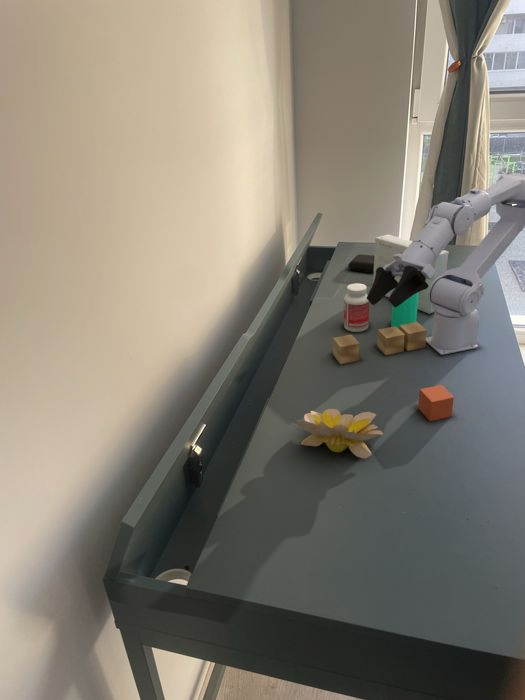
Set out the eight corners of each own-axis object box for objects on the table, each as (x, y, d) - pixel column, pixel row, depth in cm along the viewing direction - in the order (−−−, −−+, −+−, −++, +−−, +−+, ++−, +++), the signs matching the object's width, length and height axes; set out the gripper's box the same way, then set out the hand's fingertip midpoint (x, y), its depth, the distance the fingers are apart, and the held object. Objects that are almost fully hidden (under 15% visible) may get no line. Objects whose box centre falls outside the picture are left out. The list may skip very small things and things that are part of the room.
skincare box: (443, 308, 139) (450, 251, 131) (429, 315, 136) (435, 256, 128) (385, 285, 154) (387, 232, 146) (371, 291, 152) (373, 237, 144)
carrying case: (401, 264, 168) (357, 259, 174) (402, 255, 166) (357, 251, 173) (392, 276, 160) (346, 271, 166) (393, 267, 158) (346, 262, 164)
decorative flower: (395, 422, 96) (390, 384, 90) (380, 473, 89) (374, 436, 83) (317, 411, 103) (308, 375, 96) (298, 457, 96) (287, 421, 89)
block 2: (394, 342, 125) (395, 326, 123) (403, 351, 121) (404, 334, 119) (377, 346, 124) (377, 329, 122) (385, 355, 121) (386, 338, 118)
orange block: (438, 403, 103) (441, 384, 101) (451, 416, 100) (454, 397, 97) (417, 408, 103) (419, 389, 100) (429, 421, 99) (431, 402, 97)
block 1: (351, 351, 123) (351, 334, 121) (359, 360, 119) (359, 343, 117) (333, 354, 122) (333, 337, 120) (340, 364, 119) (340, 346, 116)
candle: (416, 321, 133) (420, 277, 127) (414, 333, 129) (418, 287, 123) (392, 319, 135) (395, 276, 129) (389, 330, 130) (392, 285, 125)
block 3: (415, 338, 126) (417, 321, 124) (425, 347, 122) (426, 330, 120) (398, 342, 125) (399, 325, 123) (407, 350, 122) (408, 333, 119)
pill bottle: (373, 327, 132) (375, 287, 127) (355, 335, 130) (355, 294, 124) (356, 319, 137) (357, 279, 132) (338, 326, 134) (338, 286, 129)
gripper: (389, 239, 110) (349, 287, 108) (435, 234, 96) (390, 289, 94) (409, 263, 112) (370, 310, 110) (456, 261, 99) (412, 315, 97)
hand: (380, 302), depth 103 cm, fingers open, 7 cm apart
